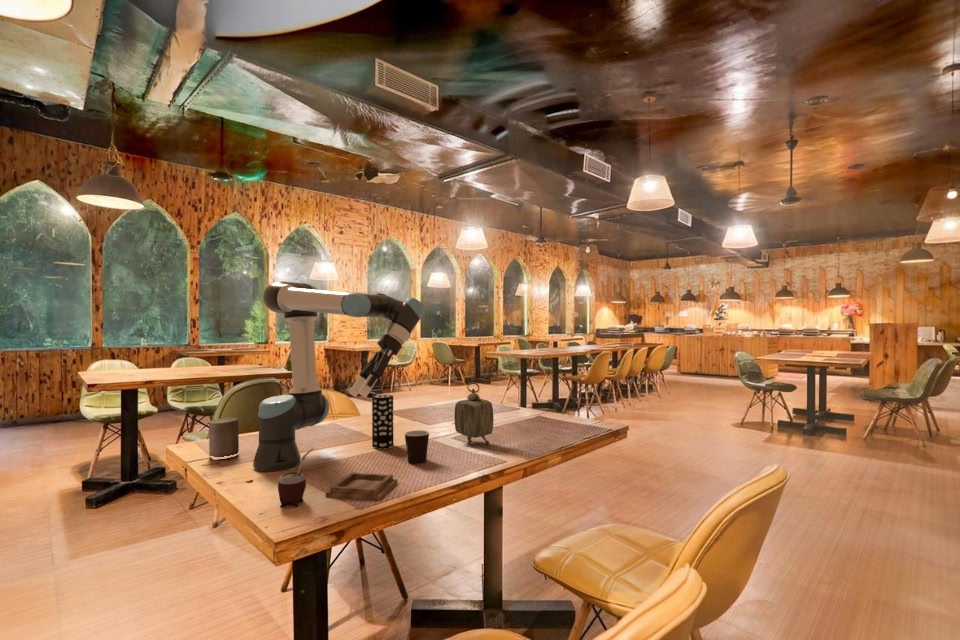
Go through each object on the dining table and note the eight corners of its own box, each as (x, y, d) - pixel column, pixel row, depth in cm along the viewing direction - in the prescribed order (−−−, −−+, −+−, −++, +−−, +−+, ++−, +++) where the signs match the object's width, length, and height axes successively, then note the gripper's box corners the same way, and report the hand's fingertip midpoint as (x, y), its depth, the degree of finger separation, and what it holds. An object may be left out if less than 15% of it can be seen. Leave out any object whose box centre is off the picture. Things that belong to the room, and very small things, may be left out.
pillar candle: (244, 453, 175) (244, 414, 175) (227, 460, 165) (227, 419, 165) (220, 453, 176) (220, 414, 176) (202, 460, 166) (202, 419, 166)
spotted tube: (397, 445, 185) (397, 395, 185) (383, 450, 178) (382, 398, 178) (382, 442, 189) (382, 394, 190) (367, 447, 182) (367, 396, 183)
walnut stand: (325, 496, 130) (325, 487, 130) (348, 480, 143) (348, 472, 143) (379, 500, 127) (379, 490, 127) (397, 483, 141) (397, 474, 141)
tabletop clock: (493, 445, 184) (493, 382, 185) (477, 449, 178) (477, 384, 178) (469, 438, 195) (468, 379, 195) (452, 442, 188) (452, 381, 189)
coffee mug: (424, 465, 158) (424, 436, 158) (401, 464, 159) (400, 435, 160) (434, 456, 169) (434, 429, 169) (412, 455, 171) (412, 428, 171)
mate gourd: (273, 504, 124) (273, 449, 125) (301, 496, 130) (301, 443, 130) (285, 512, 119) (285, 454, 120) (314, 503, 125) (314, 448, 125)
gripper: (414, 342, 142) (377, 402, 134) (391, 349, 164) (357, 400, 156) (395, 328, 139) (355, 388, 132) (374, 337, 161) (338, 388, 153)
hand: (356, 395), depth 144 cm, fingers open, 13 cm apart
